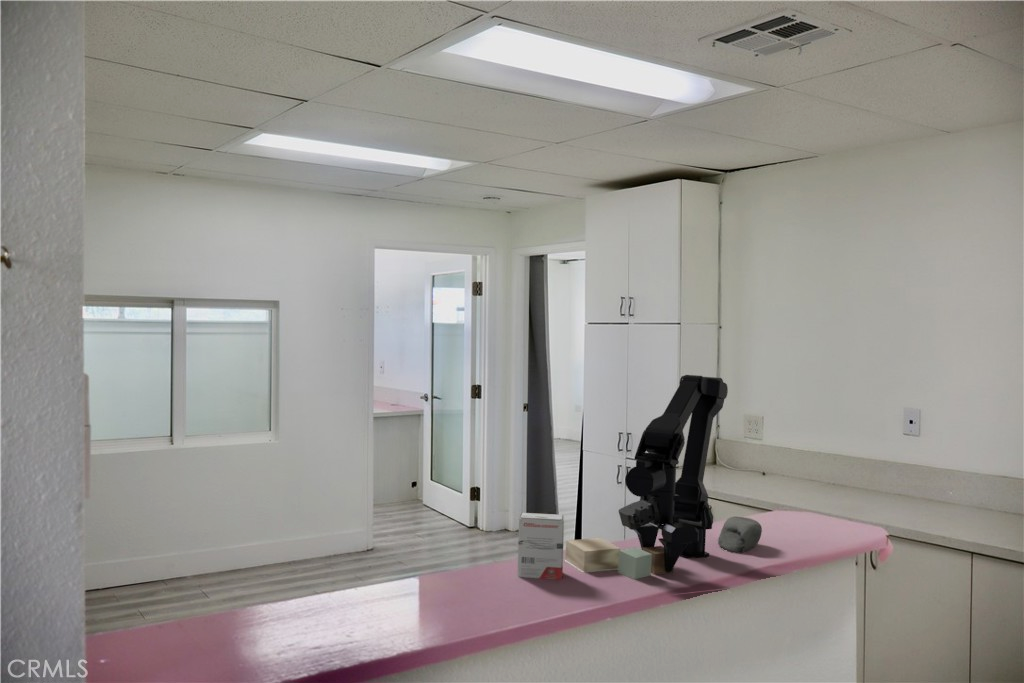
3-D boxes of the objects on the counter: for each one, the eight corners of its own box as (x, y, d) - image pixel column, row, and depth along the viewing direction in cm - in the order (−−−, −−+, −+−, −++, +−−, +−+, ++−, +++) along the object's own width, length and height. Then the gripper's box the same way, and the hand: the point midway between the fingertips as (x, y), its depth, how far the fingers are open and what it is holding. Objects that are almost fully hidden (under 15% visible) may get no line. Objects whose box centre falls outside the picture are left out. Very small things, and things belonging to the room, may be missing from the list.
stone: (705, 544, 177) (721, 503, 180) (727, 557, 182) (742, 518, 184) (737, 555, 170) (753, 512, 172) (759, 568, 175) (774, 527, 177)
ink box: (562, 573, 152) (565, 513, 152) (561, 581, 147) (564, 519, 147) (518, 570, 153) (521, 511, 153) (516, 578, 148) (518, 516, 148)
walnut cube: (660, 567, 159) (661, 545, 159) (673, 574, 155) (674, 552, 155) (641, 569, 157) (642, 547, 157) (653, 576, 153) (654, 553, 153)
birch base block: (599, 556, 163) (600, 537, 163) (619, 568, 156) (620, 548, 156) (565, 559, 160) (566, 540, 160) (583, 571, 153) (584, 551, 153)
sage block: (633, 569, 156) (635, 547, 156) (650, 576, 152) (652, 554, 152) (617, 572, 153) (619, 550, 153) (634, 580, 150) (636, 557, 149)
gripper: (602, 481, 161) (599, 556, 161) (652, 501, 144) (648, 585, 144) (648, 479, 165) (645, 552, 166) (702, 498, 148) (698, 579, 149)
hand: (657, 566), depth 156 cm, fingers open, 7 cm apart
